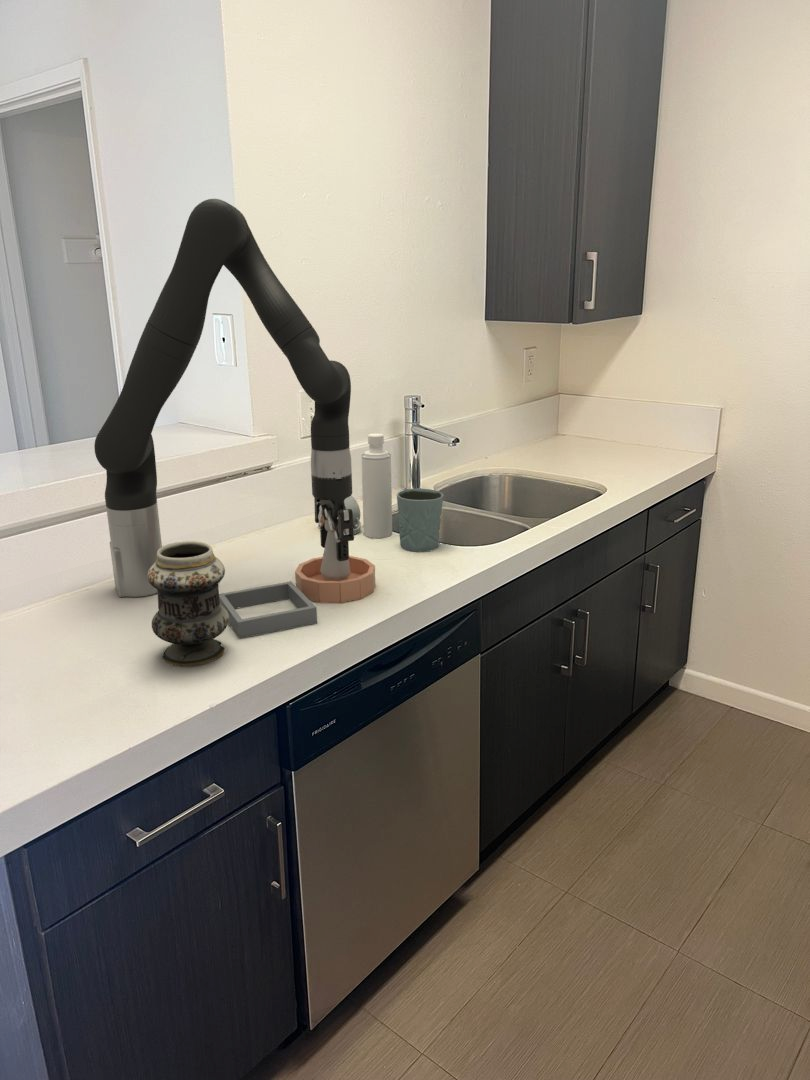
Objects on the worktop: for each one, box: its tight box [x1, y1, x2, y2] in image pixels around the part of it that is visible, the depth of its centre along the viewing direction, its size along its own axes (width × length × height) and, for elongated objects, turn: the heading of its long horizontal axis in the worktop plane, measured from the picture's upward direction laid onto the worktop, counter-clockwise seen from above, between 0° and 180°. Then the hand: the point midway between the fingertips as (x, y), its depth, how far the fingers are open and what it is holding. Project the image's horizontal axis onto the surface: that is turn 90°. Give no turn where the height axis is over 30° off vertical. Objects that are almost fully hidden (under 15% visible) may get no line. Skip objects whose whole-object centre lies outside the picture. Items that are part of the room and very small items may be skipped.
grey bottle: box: [361, 432, 393, 539], centre depth 188 cm, size 7×7×25 cm
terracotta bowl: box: [294, 555, 376, 604], centre depth 160 cm, size 15×15×4 cm
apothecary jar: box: [148, 540, 229, 668], centre depth 131 cm, size 12×12×18 cm
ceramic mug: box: [344, 495, 362, 535], centre depth 195 cm, size 11×8×8 cm
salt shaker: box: [320, 520, 351, 581], centre depth 158 cm, size 6×6×13 cm
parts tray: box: [219, 580, 318, 639], centre depth 148 cm, size 14×14×3 cm
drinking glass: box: [396, 488, 444, 553], centre depth 182 cm, size 10×10×12 cm
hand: (334, 553), depth 158 cm, fingers open, 8 cm apart
